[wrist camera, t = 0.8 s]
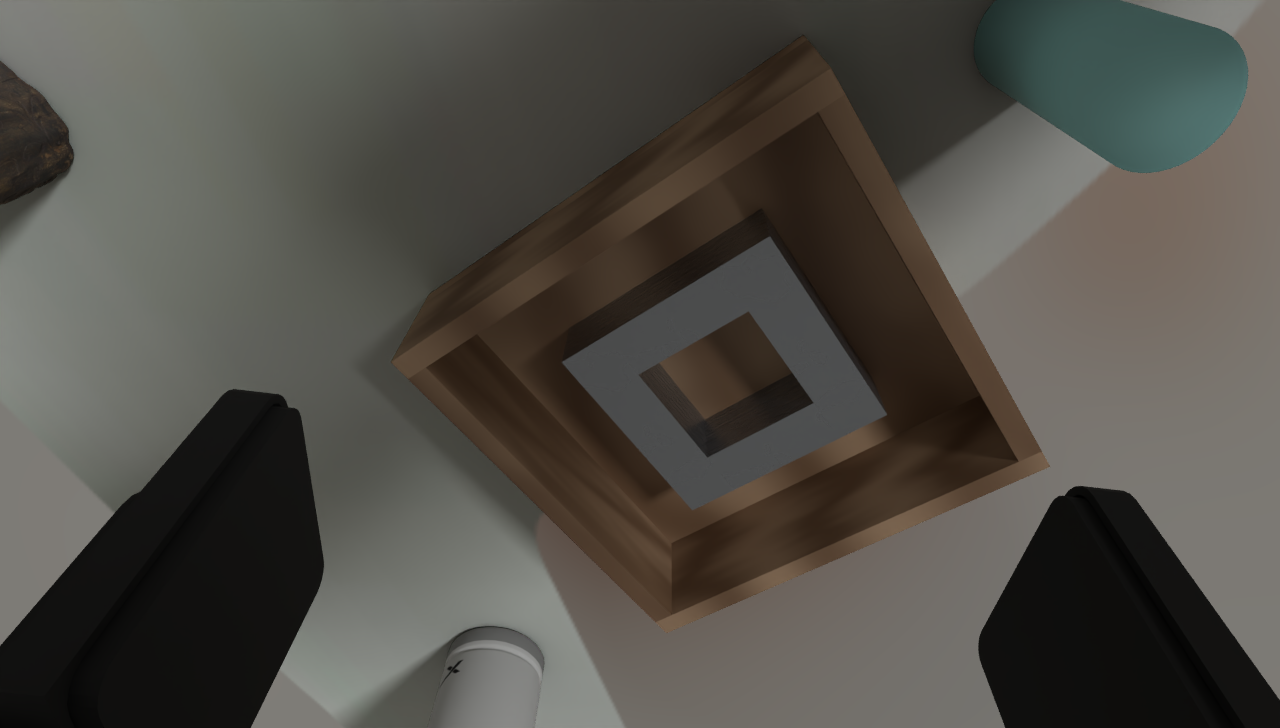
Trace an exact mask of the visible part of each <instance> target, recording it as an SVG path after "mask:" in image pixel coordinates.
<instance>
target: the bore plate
mask: <svg viewBox="0 0 1280 728" xmlns="http://www.w3.org/2000/svg"><path fill="white" fill-rule="evenodd" d="M748 311H749V313H750V314H751V315H752V317H753V318H754V320H755V321H756V322H757V324H758V325H759V327H760V328H761V329H762V331H763V332H764V334H765V335H766V337H767V338H768V339H769V341H770V342H771V344H772V345H773V346H774V348H775V349H776V351H777V352H778V353H779V355H780V356H781V358H782V359H783V360H784V362H785V363H786V365H787V366H788V367H789V369H790V370H791V372H792V373H791V374H789V375H787V376H785V377H784V378H782V379H780V380H778V381H776V382H774V383H772V384H770V385H769V386H767V387H765V388H763V389H761V390H759V391H757V392H755V393H754V394H752V395H750V396H748V397H746V398H744V399H742V400H740V401H739V402H737V403H735V404H733V405H731V406H729V407H727V408H725V409H724V410H722V411H720V412H718V413H716V414H714V415H712V416H710V417H709V418H707V419H704V418H703V417H702V415H701V414H700V413H699V412H698V410H697V409H696V408H695V407H694V405H693V404H692V403H691V402H690V400H689V399H688V398H687V397H686V396H685V394H684V393H683V392H682V391H681V389H680V388H679V387H678V386H677V384H676V383H675V382H674V381H673V379H672V378H671V377H670V376H669V375H668V373H667V372H666V371H665V370H664V368H663V367H662V366H661V365H660V362H661V361H663V360H665V359H667V358H668V357H670V356H672V355H674V354H675V353H677V352H679V351H681V350H682V349H684V348H686V347H687V346H689V345H691V344H693V343H694V342H696V341H698V340H700V339H701V338H703V337H705V336H707V335H708V334H710V333H712V332H714V331H715V330H717V329H719V328H721V327H722V326H724V325H726V324H727V323H729V322H731V321H733V320H734V319H736V318H738V317H740V316H741V315H743V314H745V313H747V312H748ZM562 364H563V365H564V366H565V367H566V368H567V369H568V370H569V371H570V373H571V374H572V375H573V376H574V377H575V378H576V379H577V380H578V382H579V383H580V384H581V385H582V386H583V387H584V388H585V390H586V391H587V392H588V393H589V394H590V395H591V396H592V397H593V399H594V400H595V401H596V402H597V403H598V404H599V405H600V406H601V408H602V409H603V410H604V411H605V412H606V413H607V414H608V415H609V417H610V418H611V419H612V420H613V421H614V422H615V423H616V425H617V426H618V427H619V428H620V429H621V430H622V431H623V432H624V434H625V435H626V436H627V437H628V438H629V439H630V440H631V441H632V443H633V444H634V445H635V446H636V447H637V448H638V449H639V451H640V452H641V453H642V454H643V455H644V456H645V457H646V458H647V460H648V461H649V462H650V463H651V464H652V465H653V466H654V467H655V469H656V470H657V471H658V472H659V473H660V474H661V475H662V477H663V478H664V479H665V480H666V481H667V482H668V483H669V484H670V486H671V487H672V488H673V489H674V490H675V491H676V492H677V493H678V495H679V496H680V497H681V498H682V499H683V500H684V501H685V502H686V504H687V505H688V506H689V507H690V508H691V509H692V510H694V509H696V508H698V507H701V506H703V505H705V504H707V503H709V502H711V501H713V500H715V499H717V498H719V497H721V496H723V495H725V494H727V493H729V492H731V491H733V490H735V489H737V488H739V487H741V486H743V485H745V484H747V483H749V482H752V481H754V480H756V479H758V478H760V477H762V476H764V475H766V474H768V473H770V472H772V471H774V470H776V469H778V468H780V467H782V466H784V465H786V464H788V463H790V462H792V461H794V460H796V459H798V458H800V457H802V456H805V455H807V454H809V453H811V452H813V451H815V450H817V449H819V448H821V447H823V446H825V445H827V444H829V443H831V442H833V441H835V440H837V439H839V438H841V437H843V436H845V435H847V434H849V433H851V432H853V431H855V430H858V429H860V428H862V427H864V426H866V425H868V424H870V423H872V422H874V421H876V420H878V419H880V418H882V417H884V416H886V415H887V413H886V410H885V408H884V405H883V403H882V400H881V398H880V395H879V393H878V390H877V388H876V385H875V383H874V380H873V378H872V376H871V375H870V373H869V372H868V370H867V369H866V367H865V366H864V364H863V363H862V361H861V359H860V358H859V356H858V355H857V353H856V352H855V350H854V349H853V347H852V346H851V344H850V343H849V341H848V339H847V338H846V336H845V335H844V333H843V332H842V330H841V329H840V327H839V326H838V324H837V323H836V321H835V320H834V318H833V316H832V315H831V313H830V312H829V310H828V309H827V307H826V306H825V304H824V303H823V301H822V300H821V298H820V296H819V295H818V293H817V292H816V290H815V289H814V287H813V286H812V284H811V283H810V281H809V280H808V278H807V277H806V275H805V273H804V272H803V270H802V269H801V267H800V266H799V264H798V263H797V261H796V260H795V258H794V257H793V255H792V253H791V252H790V250H789V249H788V247H787V246H786V244H785V243H784V241H783V240H782V238H781V237H780V235H779V234H778V232H777V230H776V229H775V227H774V226H773V224H772V223H771V221H770V220H769V218H768V217H767V215H766V214H765V212H764V210H763V209H762V208H761V209H760V210H758V211H757V212H755V213H753V214H752V215H750V216H748V217H747V218H745V219H744V220H742V221H740V222H739V223H737V224H736V225H734V226H732V227H731V228H729V229H728V230H726V231H724V232H723V233H721V234H720V235H718V236H716V237H715V238H713V239H712V240H710V241H708V242H707V243H705V244H703V245H702V246H700V247H699V248H697V249H695V250H694V251H692V252H691V253H689V254H687V255H686V256H684V257H683V258H681V259H679V260H678V261H676V262H675V263H673V264H671V265H670V266H668V267H667V268H665V269H663V270H662V271H660V272H658V273H657V274H655V275H654V276H652V277H650V278H649V279H647V280H646V281H644V282H642V283H641V284H639V285H638V286H636V287H634V288H633V289H631V290H630V291H628V292H626V293H625V294H623V295H622V296H620V297H618V298H617V299H615V300H613V301H612V302H610V303H609V304H607V305H605V306H604V307H602V308H601V309H599V310H597V311H596V312H594V313H593V314H591V315H589V316H588V317H586V318H585V319H583V320H581V321H580V322H578V323H576V324H575V325H573V326H572V327H570V328H569V330H568V335H567V340H566V344H565V349H564V353H563V358H562Z"/></svg>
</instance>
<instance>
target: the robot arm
mask: <svg viewBox="0 0 1280 728" xmlns="http://www.w3.org/2000/svg"><path fill="white" fill-rule="evenodd" d="M323 570H324V559H323V553H322V546H321V540H320V534H319V528H318V521H317V515H316V509H315V502H314V496H313V490H312V483H311V477H310V471H309V464H308V458H307V452H306V446H305V439H304V433H303V427H302V420H301V416H300V413H299V411H298V410H297V409H295V408H288V406H287V403H286V400H285V399H284V397H283V396H281V395H279V394H271V393H263V392H254V391H245V390H236V389H233V390H229V391H227V392H226V393H225V394H224V395H222V397H221V398H220V399H219V400H218V401H217V402H216V404H215V405H214V406H213V407H212V408H211V409H210V411H209V412H208V413H207V414H206V415H205V417H204V418H203V419H202V420H201V421H200V422H199V424H198V425H197V426H196V427H195V428H194V429H193V431H192V432H191V433H190V434H189V435H188V437H187V438H186V439H185V440H184V441H183V442H182V444H181V445H180V446H179V447H178V448H177V449H176V451H175V452H174V453H173V454H172V455H171V457H170V458H169V459H168V460H167V461H166V462H165V464H164V465H163V466H162V467H161V468H160V469H159V471H158V472H157V473H156V474H155V475H154V477H153V478H152V479H151V480H150V481H149V482H148V484H147V485H146V486H145V487H144V488H143V489H142V491H141V492H139V493H137V494H134V495H132V496H131V497H130V498H129V499H128V500H127V501H126V502H125V503H124V504H122V505H121V506H120V508H119V509H118V510H117V511H116V512H115V513H114V515H113V516H112V517H111V518H110V519H109V520H108V522H107V523H106V524H105V525H104V526H103V527H102V529H101V530H100V531H99V532H98V533H97V534H96V535H95V537H94V538H93V539H92V540H91V541H90V543H89V544H88V545H87V546H86V547H85V548H84V549H83V551H82V552H81V553H80V554H79V555H78V556H77V558H76V559H75V560H74V561H73V562H72V563H71V564H70V566H69V567H68V568H67V569H66V570H65V572H64V573H63V574H62V575H61V576H60V577H59V578H58V580H57V581H56V582H55V583H54V585H52V587H51V588H50V589H49V590H48V591H47V592H46V593H45V595H44V596H43V597H42V598H41V599H40V600H39V602H38V603H37V604H36V605H35V606H34V607H33V609H32V610H31V611H30V612H29V613H28V614H27V616H26V617H25V618H24V619H23V620H22V621H21V622H20V624H19V625H18V626H17V627H16V628H15V630H14V631H13V632H12V633H11V634H10V635H9V636H8V638H7V639H6V640H5V641H4V642H3V644H1V646H0V728H251V726H252V724H253V722H254V720H255V718H256V716H257V714H258V712H259V710H260V708H261V706H262V703H263V702H264V699H265V697H266V695H267V693H268V691H269V689H270V687H271V685H272V683H273V681H274V679H275V677H276V675H277V673H278V671H279V669H280V667H281V665H282V663H283V661H284V659H285V657H286V655H287V653H288V651H289V649H290V647H291V645H292V643H293V641H294V639H295V637H296V635H297V632H298V630H299V628H300V626H301V624H302V622H303V620H304V618H305V616H306V614H307V612H308V610H309V608H310V606H311V604H312V602H313V600H314V598H315V596H316V594H317V592H318V589H319V587H320V584H321V581H322V576H323ZM978 647H979V649H978V650H979V657H980V661H981V664H982V667H983V670H984V672H985V675H986V678H987V680H988V683H989V686H990V688H991V690H992V694H993V696H994V699H995V701H996V704H997V707H998V709H999V712H1000V715H1001V717H1002V720H1003V723H1004V725H1005V728H1280V700H1279V699H1278V697H1277V696H1276V694H1275V693H1274V692H1273V690H1272V689H1271V687H1270V686H1269V685H1268V683H1267V682H1266V680H1265V679H1264V678H1263V676H1262V675H1261V673H1260V672H1259V671H1258V669H1257V668H1256V666H1255V665H1254V664H1253V662H1252V661H1251V660H1250V658H1249V657H1248V655H1247V654H1246V653H1245V651H1244V650H1243V648H1242V647H1241V646H1240V644H1239V643H1238V642H1237V640H1236V639H1235V637H1234V636H1233V635H1232V633H1231V632H1230V630H1229V629H1228V627H1227V626H1226V625H1225V623H1224V622H1223V620H1222V619H1221V618H1220V616H1219V615H1218V613H1217V612H1216V611H1215V609H1214V608H1213V606H1212V605H1211V604H1210V602H1209V601H1208V599H1207V598H1206V597H1205V595H1204V594H1203V592H1202V591H1201V590H1200V588H1199V587H1198V586H1197V584H1196V583H1195V581H1194V580H1193V579H1192V577H1191V576H1190V575H1189V573H1188V572H1187V570H1186V569H1185V568H1184V566H1183V565H1182V563H1181V562H1180V560H1179V559H1178V558H1177V556H1176V555H1175V553H1174V552H1173V551H1172V549H1171V548H1170V547H1169V545H1168V544H1167V542H1166V541H1165V539H1164V538H1163V537H1162V536H1161V534H1160V532H1159V531H1158V530H1157V529H1156V527H1155V526H1154V524H1153V523H1152V521H1151V520H1150V519H1149V517H1148V516H1147V514H1146V513H1145V512H1144V510H1143V509H1142V507H1141V506H1140V505H1139V503H1138V502H1137V500H1136V499H1135V498H1134V497H1133V496H1132V495H1131V494H1129V493H1127V492H1125V491H1120V490H1111V489H1101V488H1093V487H1084V486H1076V487H1073V488H1072V489H1070V490H1069V491H1068V492H1067V494H1066V495H1065V496H1058V497H1057V498H1055V499H1054V501H1053V502H1052V503H1051V505H1050V507H1049V509H1048V510H1047V512H1046V514H1045V516H1044V518H1043V519H1042V521H1041V523H1040V525H1039V527H1038V529H1037V531H1036V532H1035V535H1034V536H1033V538H1032V540H1031V541H1030V543H1029V545H1028V547H1027V549H1026V551H1025V552H1024V554H1023V556H1022V558H1021V560H1020V562H1019V564H1018V565H1017V568H1016V569H1015V571H1014V573H1013V575H1012V576H1011V578H1010V580H1009V582H1008V584H1007V585H1006V587H1005V589H1004V591H1003V593H1002V595H1001V596H1000V598H999V600H998V602H997V604H996V606H995V607H994V609H993V611H992V613H991V615H990V617H989V618H988V620H987V622H986V624H985V626H984V628H983V629H982V631H981V634H980V637H979V646H978Z"/></svg>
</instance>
